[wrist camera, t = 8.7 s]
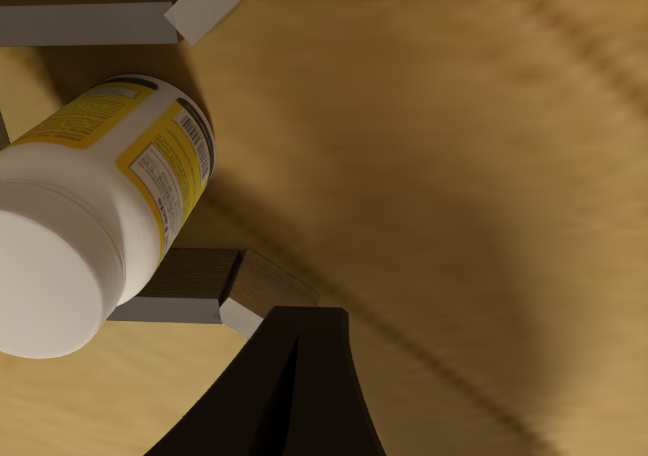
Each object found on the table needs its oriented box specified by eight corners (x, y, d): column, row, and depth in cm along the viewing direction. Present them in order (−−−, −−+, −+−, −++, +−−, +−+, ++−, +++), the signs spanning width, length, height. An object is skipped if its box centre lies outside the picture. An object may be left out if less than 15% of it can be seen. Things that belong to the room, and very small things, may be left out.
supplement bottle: (58, 156, 21) (-124, 302, 14) (111, 40, 19) (-72, 142, 11) (181, 229, 22) (71, 403, 15) (245, 127, 20) (154, 272, 12)
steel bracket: (320, 311, 23) (311, 366, 20) (36, 303, 24) (-7, 354, 22) (299, -87, 16) (281, -80, 14) (-90, -71, 18) (-174, -62, 15)
